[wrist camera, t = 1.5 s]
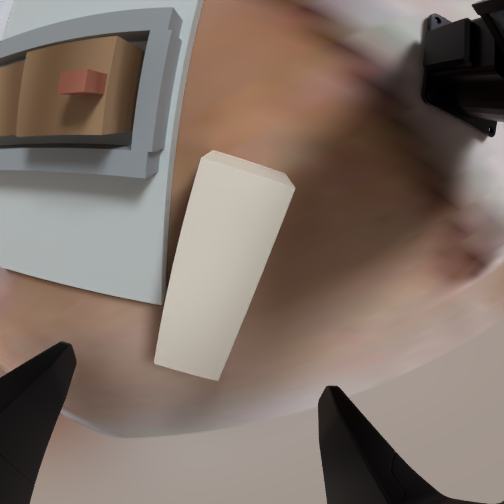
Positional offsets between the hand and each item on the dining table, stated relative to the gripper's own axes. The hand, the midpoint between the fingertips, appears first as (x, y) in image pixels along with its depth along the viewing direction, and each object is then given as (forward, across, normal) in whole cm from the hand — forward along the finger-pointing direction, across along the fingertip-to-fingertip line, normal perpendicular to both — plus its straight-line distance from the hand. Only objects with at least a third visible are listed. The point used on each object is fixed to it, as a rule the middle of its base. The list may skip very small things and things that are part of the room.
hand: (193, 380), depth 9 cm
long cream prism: (+10, 0, 0) cm, 10 cm away
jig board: (+9, +10, -8) cm, 16 cm away
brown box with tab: (+8, +11, -9) cm, 16 cm away
